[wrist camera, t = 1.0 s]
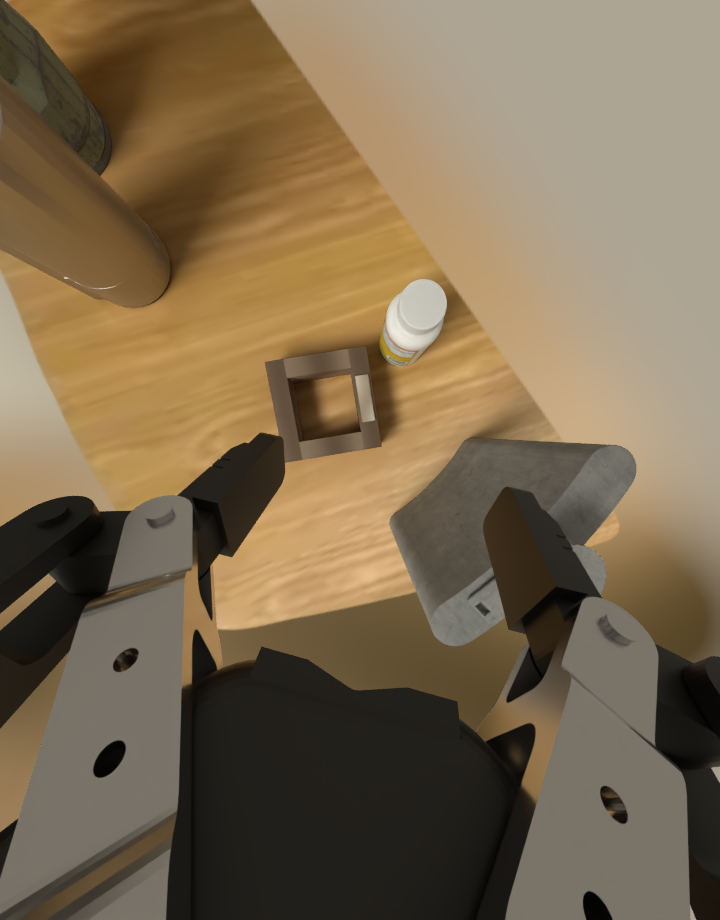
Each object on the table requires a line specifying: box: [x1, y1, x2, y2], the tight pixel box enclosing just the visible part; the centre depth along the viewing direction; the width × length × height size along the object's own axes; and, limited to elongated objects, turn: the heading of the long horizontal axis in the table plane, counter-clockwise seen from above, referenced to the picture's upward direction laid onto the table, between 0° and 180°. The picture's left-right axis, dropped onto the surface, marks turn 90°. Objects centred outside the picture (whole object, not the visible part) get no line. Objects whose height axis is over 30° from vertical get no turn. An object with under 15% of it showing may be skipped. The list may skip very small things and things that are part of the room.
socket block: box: [265, 346, 382, 463], centre depth 30 cm, size 11×11×3 cm
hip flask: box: [390, 438, 636, 646], centre depth 23 cm, size 16×4×20 cm, turn 137°
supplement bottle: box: [379, 279, 447, 366], centre depth 26 cm, size 5×5×10 cm
